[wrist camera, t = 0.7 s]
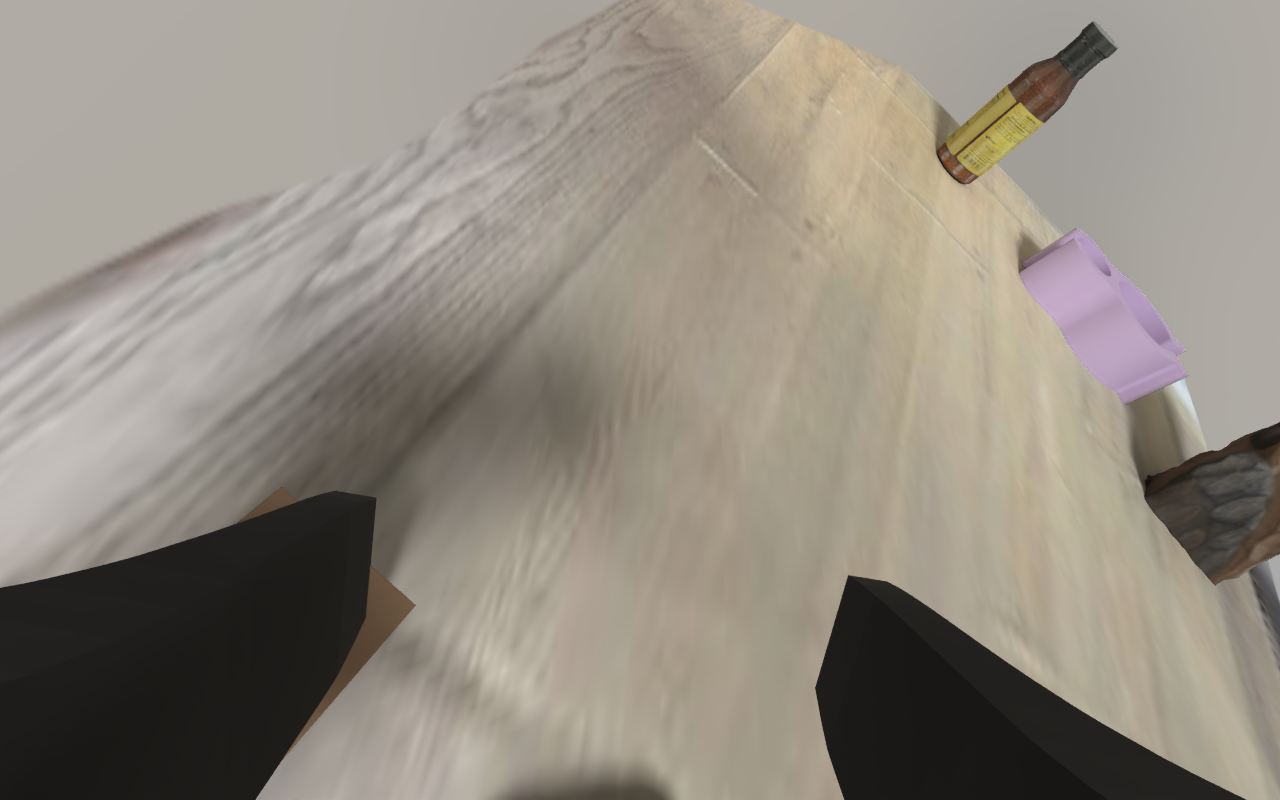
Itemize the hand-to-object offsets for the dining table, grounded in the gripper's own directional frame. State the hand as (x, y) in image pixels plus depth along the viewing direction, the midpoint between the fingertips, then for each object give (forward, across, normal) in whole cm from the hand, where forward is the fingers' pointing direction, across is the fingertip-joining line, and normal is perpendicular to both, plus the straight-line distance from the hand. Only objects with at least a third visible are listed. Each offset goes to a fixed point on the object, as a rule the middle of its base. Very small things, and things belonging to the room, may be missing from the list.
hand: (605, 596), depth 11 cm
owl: (+59, -62, +16) cm, 87 cm away
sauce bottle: (+84, -38, -17) cm, 94 cm away
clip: (+76, -54, 0) cm, 93 cm away
